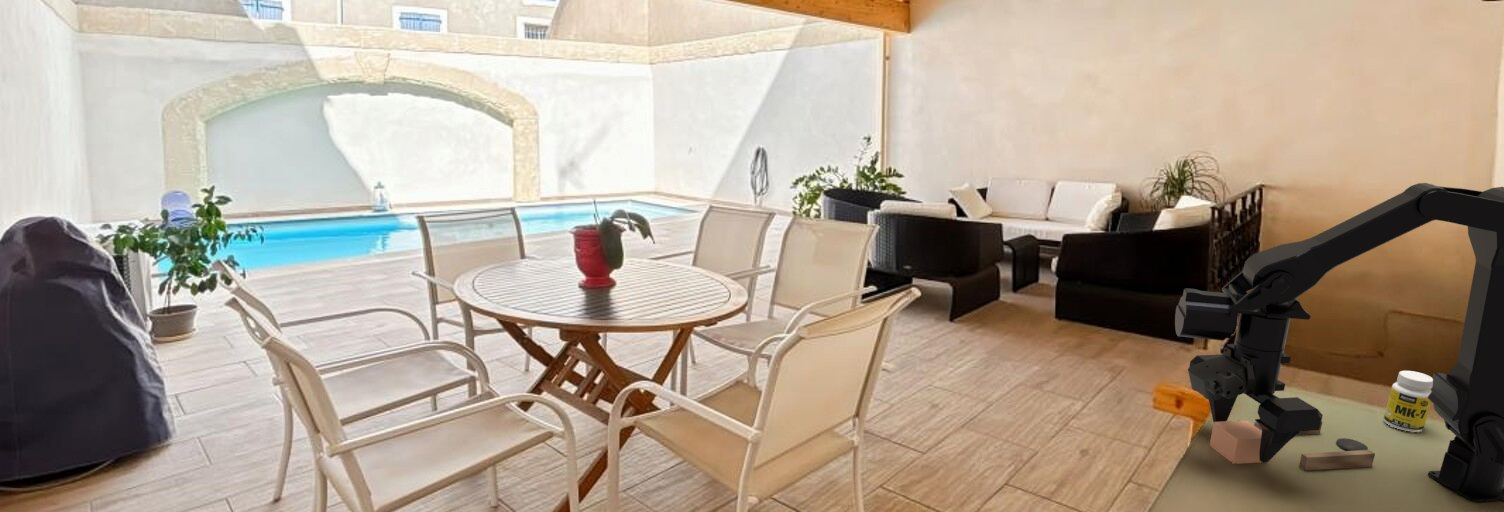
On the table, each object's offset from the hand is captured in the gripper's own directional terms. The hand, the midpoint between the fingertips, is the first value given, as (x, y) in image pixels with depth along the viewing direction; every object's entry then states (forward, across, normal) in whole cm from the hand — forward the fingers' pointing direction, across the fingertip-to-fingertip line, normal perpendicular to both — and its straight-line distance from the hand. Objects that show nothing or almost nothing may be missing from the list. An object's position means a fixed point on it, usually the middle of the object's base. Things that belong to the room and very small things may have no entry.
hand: (1240, 444), depth 107 cm
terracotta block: (+2, 0, 0) cm, 2 cm away
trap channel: (+2, 0, +13) cm, 13 cm away
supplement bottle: (+2, -5, +30) cm, 31 cm away
